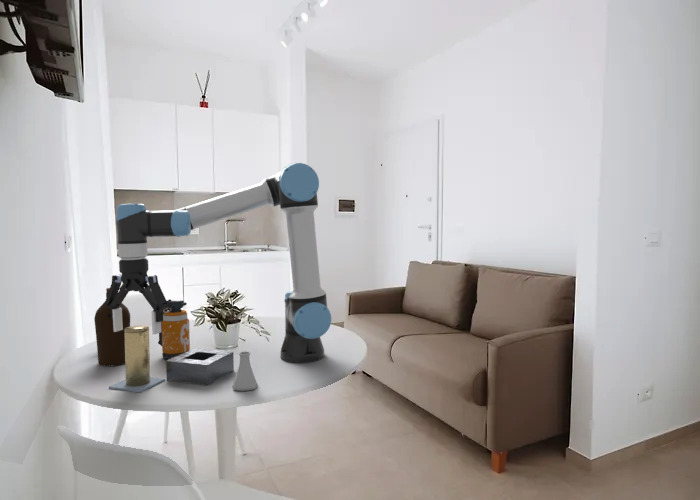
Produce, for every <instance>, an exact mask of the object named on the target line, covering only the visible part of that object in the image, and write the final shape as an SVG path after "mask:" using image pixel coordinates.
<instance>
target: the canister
mask: <svg viewBox="0 0 700 500" xmlns="http://www.w3.org/2000/svg"><path fill="white" fill-rule="evenodd" d="M166 301H167V303H168V307H167V308H164V309H163V310H162V316H163V317H162V318H163V320H162V321H161V332H160V333H158V342H157V344H158V345H160V347H161V351H162V353H161V354H162V358H164V359H167V360H169V359H171V358H174V357H176V356H178V355H181V354H183V353H185V352H188V351H190V350H191V344H190V342H191V339H190V319H189V318H188V312H187V310H185V309H183V308H184V307H185V306H187V302H184V300H172V299H171V298H170V299H168V300H167V299H166Z"/></svg>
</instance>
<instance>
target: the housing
mask: <svg viewBox="0 0 700 500" xmlns="http://www.w3.org/2000/svg"><path fill="white" fill-rule="evenodd" d="M234 362H235V361H234V351H231V350H221V349H219V350H218V349H207V348H197V347H196V348H192V349H190V351H188V352H185V353H183V354H181V355H178V356H176V357H174V358H171V359H167V360H166V361H165V368H166V369H165V371H166V381H167V382H175V383H183V384H190V385H191V384H192V385H201V386H209V385H211V384H213V383H214V382H216V381H218V380H220V379H221V378H223V377H224V376H226V375H229V374H230V373H231V372H233V371H234V370H235V367H234V366H235V364H234Z"/></svg>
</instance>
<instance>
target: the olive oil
mask: <svg viewBox="0 0 700 500" xmlns="http://www.w3.org/2000/svg"><path fill="white" fill-rule="evenodd" d="M109 289H110V287H107V288H106V289H105V291H106V293H105V299H106V298H107V295H108V292H109ZM104 304H105V301H104V302H103V303H102V304H101V305H100V306H99V307H98V308H97V309H96V311H95V315H94V319H93V320H94V329H95V339H96V351H97V363H98V365H99V366H101V367H117V366H121V365H125V331H124V329H125V328H126V327H130V326H131V313H130V311H129V308H128V307H127V305H125V304H124V303H123V302H122V303H121V304H120V306H121V307H118V308H122V322H123V330H120V331H117V332H114V329H113V320H112V318H111V309H110V307H108V306H107V307H106V306H105V305H104Z"/></svg>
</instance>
